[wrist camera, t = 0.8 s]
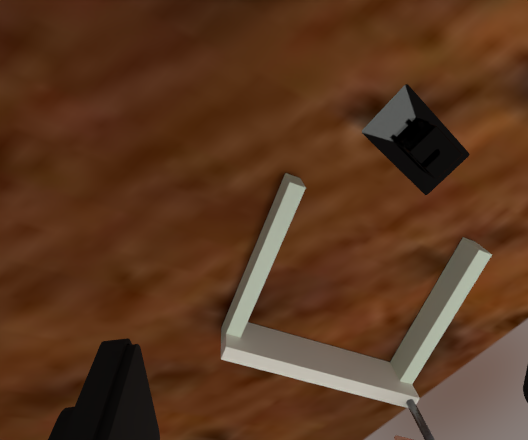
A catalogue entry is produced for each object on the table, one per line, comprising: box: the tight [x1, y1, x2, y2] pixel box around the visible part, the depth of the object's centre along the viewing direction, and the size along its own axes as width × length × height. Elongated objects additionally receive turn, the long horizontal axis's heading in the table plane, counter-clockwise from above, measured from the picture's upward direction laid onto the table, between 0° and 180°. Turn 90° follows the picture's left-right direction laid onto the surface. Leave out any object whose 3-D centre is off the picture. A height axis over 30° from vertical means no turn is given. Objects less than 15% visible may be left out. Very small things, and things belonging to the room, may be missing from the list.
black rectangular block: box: [362, 84, 469, 195], centre depth 38 cm, size 12×7×5 cm, turn 48°
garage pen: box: [221, 173, 492, 440], centre depth 39 cm, size 18×21×13 cm
